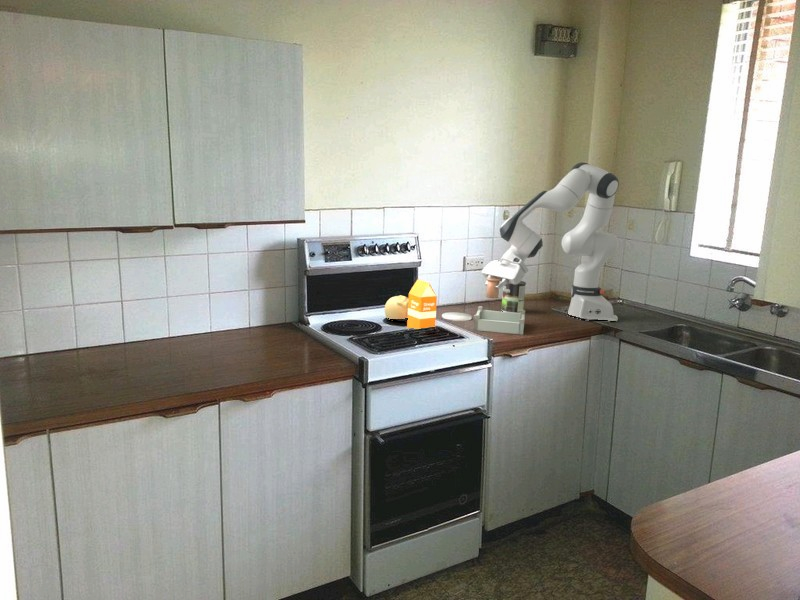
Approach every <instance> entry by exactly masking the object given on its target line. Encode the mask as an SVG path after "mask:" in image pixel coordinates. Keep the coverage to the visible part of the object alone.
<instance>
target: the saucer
mask: <svg viewBox="0 0 800 600" xmlns="http://www.w3.org/2000/svg"><path fill="white" fill-rule="evenodd" d="M441 317H442V319H444V320H447V321H452V322H469V321H471V320H472V319H473V316H472V315H471V314H469V313H465V312H458V311H457V312H456V311H455V312H453V311H452V312H451V311H450V312H443V313H442V314H441Z"/></svg>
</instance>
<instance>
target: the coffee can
mask: <svg viewBox="0 0 800 600" xmlns="http://www.w3.org/2000/svg"><path fill="white" fill-rule="evenodd" d="M526 284H527V282H526V281H524V280H521V281H520V282H519V283H518V284H516V285H515V284H511V283H507V284H506V285H504V286H503V287H502V297H501V298H502V299H501V309H500V311H501V310H502V311H503V312H512V313H521V310H524V304H525V293H526ZM502 311H501V312H502Z"/></svg>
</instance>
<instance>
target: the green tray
mask: <svg viewBox="0 0 800 600" xmlns="http://www.w3.org/2000/svg"><path fill="white" fill-rule="evenodd" d="M525 317H526V310H525V309H523V310H521V313H512V312H502V311H501V310H500V311H499V310H498V311H497V310H489V309H488V310H487V309H483V306H482V305H478V307H477V312H476V314H474V315H473V325H472V330H473V331H479V332H480V331H482V332H489V333H502V334H510V335H511V334H512V335H524V328H525Z"/></svg>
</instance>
